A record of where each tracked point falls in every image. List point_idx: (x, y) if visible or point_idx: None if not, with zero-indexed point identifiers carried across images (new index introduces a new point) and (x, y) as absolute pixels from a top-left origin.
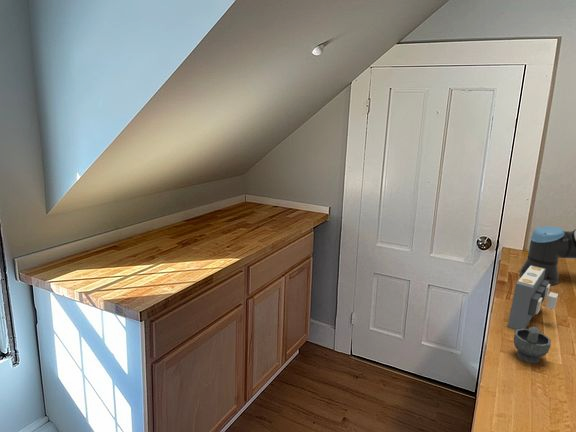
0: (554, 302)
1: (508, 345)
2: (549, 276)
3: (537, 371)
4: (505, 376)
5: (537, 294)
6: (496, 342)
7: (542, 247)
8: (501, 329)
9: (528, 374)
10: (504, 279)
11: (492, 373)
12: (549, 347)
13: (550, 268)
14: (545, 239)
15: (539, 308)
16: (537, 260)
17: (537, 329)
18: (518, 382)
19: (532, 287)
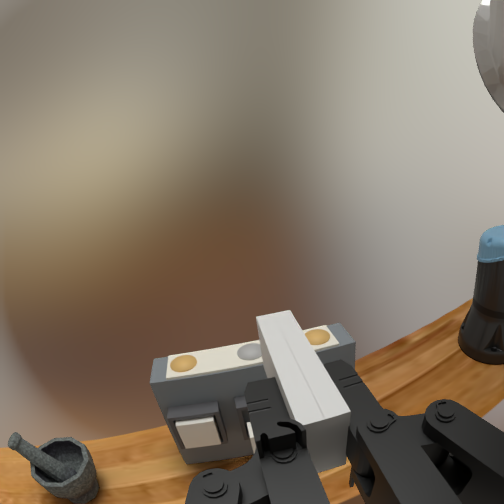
0: (252, 445)
1: (105, 459)
2: (496, 344)
3: (43, 501)
4: (12, 466)
5: (209, 407)
6: (104, 444)
7: (485, 274)
8: (164, 437)
9: (29, 490)
10: (416, 336)
11: (13, 453)
12: (46, 489)
13: (499, 326)
14: (489, 255)
15: (201, 440)
16: (478, 304)
17: (11, 440)
18: (5, 479)
19: (151, 382)
